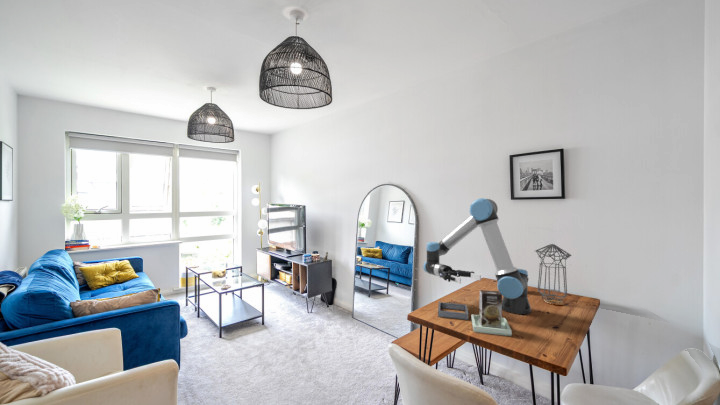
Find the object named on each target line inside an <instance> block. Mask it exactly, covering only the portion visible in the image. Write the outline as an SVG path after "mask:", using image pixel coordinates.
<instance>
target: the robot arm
mask: <svg viewBox="0 0 720 405" xmlns="http://www.w3.org/2000/svg"><path fill="white" fill-rule="evenodd" d="M497 213H498V204H497V203H496V202H495V201H494V200H493V199H490V198H482V197H481V198H478V199H476V200H473V201H472V203H471V204H470V205H469V214H470V216H468V217H467V218H466V219H465V220H464V221H463V222H461V223H460V224H459V225H458V226H457V227H455V229H453V230H452V231H451V232H449V233H448V235H447V236H445V237H444V238H443V239H442V240H441V241H439V242H437V241H429V242H428V241H427V243H426V261H425V262H424V263H423V266H422V267H423V268H422V269H423V271H424V272H425V273H427V274H429V275H432V276H435V277H439V278H440V279H443V280H444V281H447V282H448V283H450V282H455V283H458V284H462V278H461V277H463V278H470V279H472V280H473V279H474V280H477V281H482V275H481V274H477V273H475V271H473V270H472V271H468V270H467V271H466V270H461V269H457V270H455V269H453V268H452V267H451V266H450V265H447V264H443V263H440V256H444V255H447V253H448V252H449V251H450V250H451V249H452V248H454V247H455V246H456V245H458V243H459V242H461V241H462V240H463V239H465V238H466V237H467V236H468V235H470V234H471V233H472V232H473V231H474V230H476V229H477V227H479V228H480V229H481V232H482V234H483V237H484V240H485V242H486V245H487V248H488V252H489V254H490V257H491V259H492V261H493V264H494V267H495V269H496V270H495V273H494V276H495V278H496V281H497V285H496V288H497V291H499V292H500V293H501V294H502V311H505V312H507V313H511V314H517V315H528V314H531V312H532V307H531V304H530V302H529V298H528V290H529V289H528V285H529V284H528V282H529V279H528V278H529V273H528V271H527V270H526V269H523V268H517V267H516V266H514V264H513V262H512V259H511V256H510V254H509V251H508V248H507V246H506V243H505V240H504V238H503V236H502V232H501V230H500V227H499V225H498V221H499V216H498V214H497Z"/></svg>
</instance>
